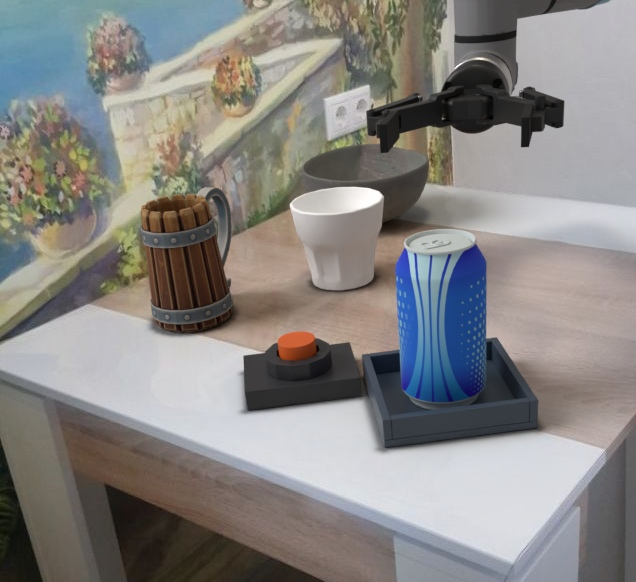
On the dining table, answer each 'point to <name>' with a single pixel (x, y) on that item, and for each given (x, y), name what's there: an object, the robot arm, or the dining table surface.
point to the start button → (297, 346)
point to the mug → (188, 260)
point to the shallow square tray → (449, 423)
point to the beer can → (442, 318)
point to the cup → (339, 234)
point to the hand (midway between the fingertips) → (452, 135)
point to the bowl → (371, 174)
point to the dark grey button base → (301, 377)
